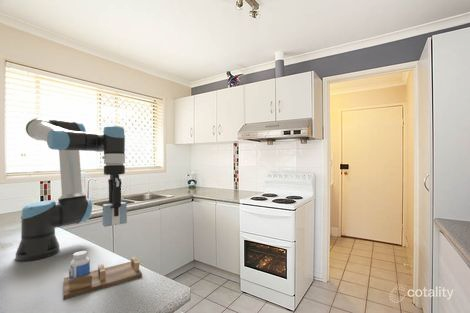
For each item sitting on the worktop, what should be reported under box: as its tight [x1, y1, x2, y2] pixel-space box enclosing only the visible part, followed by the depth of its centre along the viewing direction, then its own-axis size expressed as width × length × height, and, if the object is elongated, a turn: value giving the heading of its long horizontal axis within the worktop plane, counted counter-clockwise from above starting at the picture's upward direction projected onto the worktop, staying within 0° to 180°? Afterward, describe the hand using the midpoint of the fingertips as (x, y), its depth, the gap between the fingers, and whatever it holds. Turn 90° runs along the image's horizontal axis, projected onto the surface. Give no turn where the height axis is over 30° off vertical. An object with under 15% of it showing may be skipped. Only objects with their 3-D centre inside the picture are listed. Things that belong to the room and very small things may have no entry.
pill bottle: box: [70, 250, 91, 279], centre depth 79 cm, size 6×5×10 cm
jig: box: [63, 256, 143, 300], centre depth 83 cm, size 13×23×4 cm, turn 126°
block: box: [102, 201, 128, 228], centre depth 92 cm, size 4×8×8 cm, turn 127°
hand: (114, 222), depth 92 cm, fingers closed on block, 4 cm apart
